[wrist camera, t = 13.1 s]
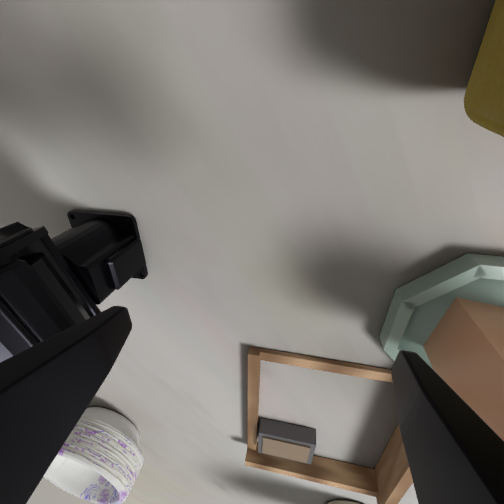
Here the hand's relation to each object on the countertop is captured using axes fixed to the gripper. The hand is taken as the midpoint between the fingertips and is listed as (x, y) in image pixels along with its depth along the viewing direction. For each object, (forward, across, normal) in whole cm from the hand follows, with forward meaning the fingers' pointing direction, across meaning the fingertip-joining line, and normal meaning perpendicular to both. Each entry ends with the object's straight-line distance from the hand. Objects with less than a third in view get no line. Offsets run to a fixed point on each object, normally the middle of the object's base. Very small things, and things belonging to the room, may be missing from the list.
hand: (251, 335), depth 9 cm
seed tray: (+13, -2, +32) cm, 34 cm away
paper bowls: (+13, +26, +40) cm, 50 cm away
